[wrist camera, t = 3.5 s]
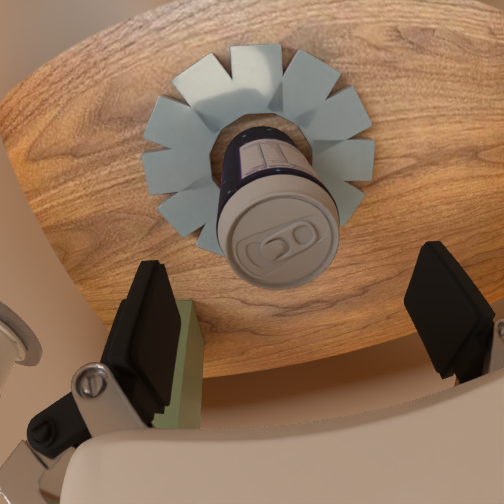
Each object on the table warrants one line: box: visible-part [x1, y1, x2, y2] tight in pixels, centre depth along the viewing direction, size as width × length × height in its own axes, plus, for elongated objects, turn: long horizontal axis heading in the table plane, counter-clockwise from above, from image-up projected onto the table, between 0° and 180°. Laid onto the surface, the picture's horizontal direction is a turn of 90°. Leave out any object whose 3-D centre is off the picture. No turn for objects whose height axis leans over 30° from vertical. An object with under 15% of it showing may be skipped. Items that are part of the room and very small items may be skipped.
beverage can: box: [216, 126, 340, 290], centre depth 17 cm, size 6×6×12 cm
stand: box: [152, 300, 205, 429], centre depth 23 cm, size 8×8×24 cm
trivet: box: [141, 44, 376, 257], centre depth 22 cm, size 18×18×1 cm
